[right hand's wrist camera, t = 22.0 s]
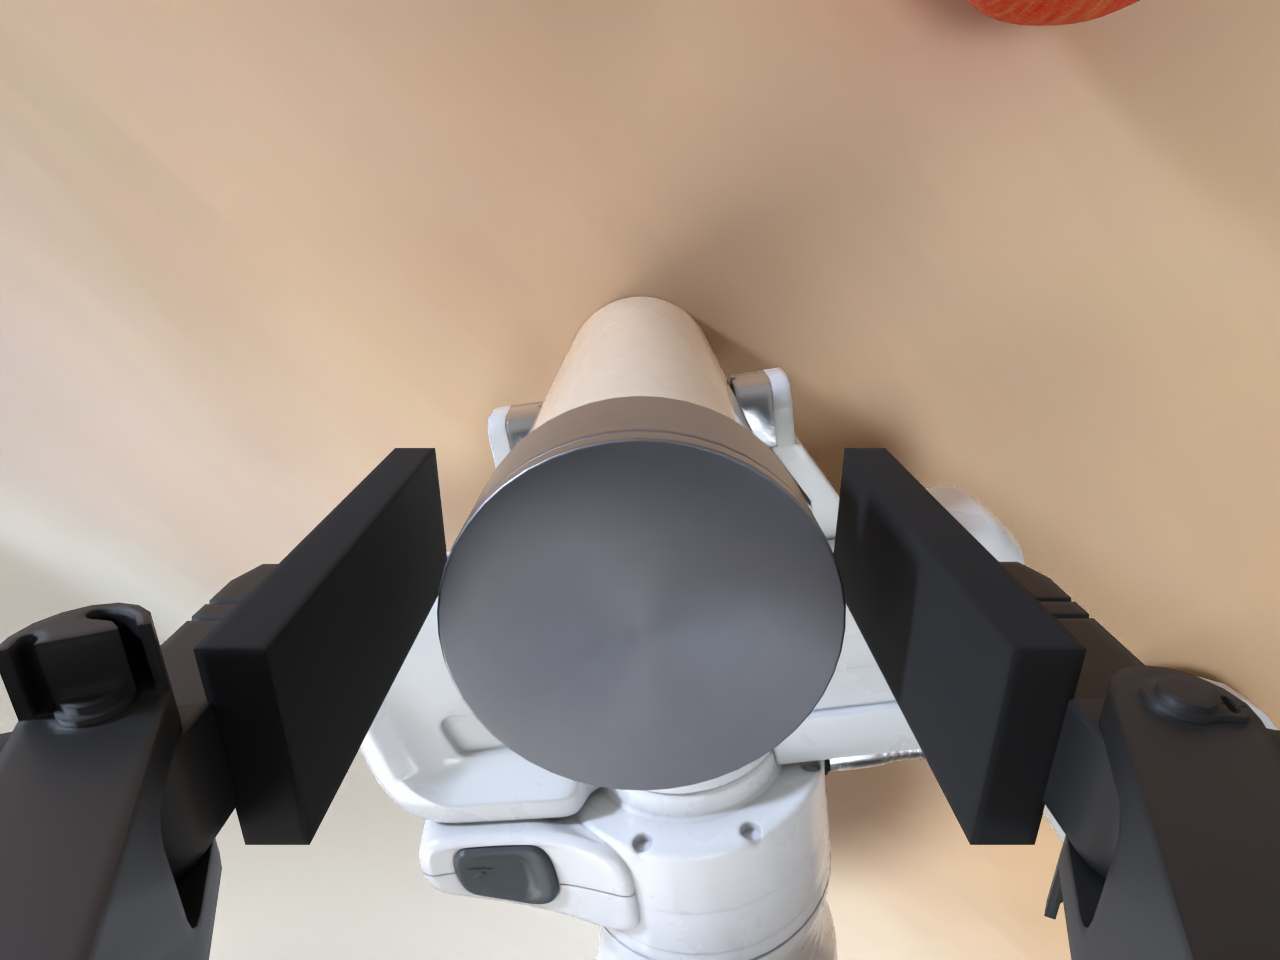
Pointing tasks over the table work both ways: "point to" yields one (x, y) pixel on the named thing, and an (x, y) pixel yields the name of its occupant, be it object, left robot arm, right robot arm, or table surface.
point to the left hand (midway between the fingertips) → (634, 391)
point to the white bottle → (640, 361)
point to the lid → (641, 597)
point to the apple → (1048, 10)
